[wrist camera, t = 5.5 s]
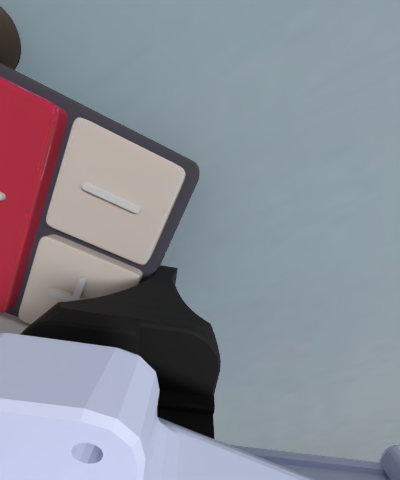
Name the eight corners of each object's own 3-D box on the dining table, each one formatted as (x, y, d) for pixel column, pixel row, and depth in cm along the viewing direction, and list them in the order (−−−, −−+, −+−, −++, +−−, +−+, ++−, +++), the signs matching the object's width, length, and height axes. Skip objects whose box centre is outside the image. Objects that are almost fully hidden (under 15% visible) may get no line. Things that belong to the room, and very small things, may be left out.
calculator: (204, 162, 8) (88, 420, 11) (201, 173, 12) (119, 356, 15) (-97, 9, 6) (-129, 353, 9) (20, 83, 10) (-28, 304, 14)
